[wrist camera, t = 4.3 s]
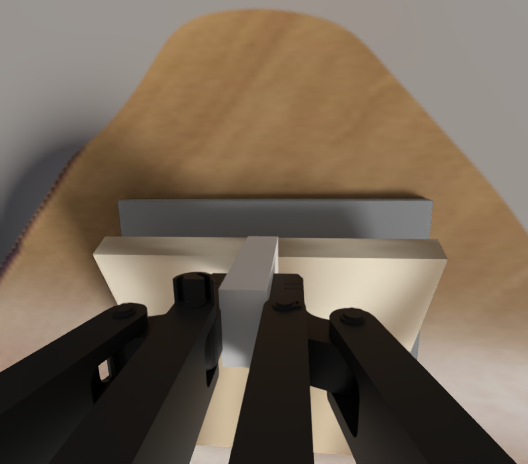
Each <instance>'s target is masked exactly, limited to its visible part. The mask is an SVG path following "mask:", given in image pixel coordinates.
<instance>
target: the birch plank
mask: <svg viewBox="0 0 528 464" xmlns="http://www.w3.org/2000/svg"><path fill="white" fill-rule="evenodd" d="M246 239H247V238H237V237H119V236H105V237H104V239H103V240H102V242H101V243H100V245H99V246H98V247H97V249H96V250H95V252H94V253H93V256H94V258H95V260H96V262H97V264H98V266H99V268H100V270H101V272H102V274H103V276H104V278H105V280H106V282H107V284H108V286H109V288H110V290H111V292H112V294H113V296H114V298H115V300H116V302H117V304H118V305H120V304H122V303H128V302H133V303H140V304H143V305H145V306H146V307H147V310H148V316H154V315H162V314H166V313H167V312H168V310H169V309H170V308H171V307H172V305H173V304H174V291H173V278H174V277H176V276H177V275H180V274H183V273H188V272H206V273H210V274H212V273H228V271H229V270H230V268H231V266H232V264H233V262H234V261H235V259H236V257H237V255H238V253H239V252H240V250H241V248H242V246H243V244H244V243H245V241H246ZM447 260H448V259H447V257H446V255H445V253H444V251H443V249H442V247H441V245H440V243H439V241H438V239H355V238H278V273H286V274H299V275H300V276H301V277H302V278H303V283H304V301H305V305H306V310H307V311H308V312H309V313H310V314H312V315H314V316H317V317H320V318H324V319H328V320H329V316H330V314H331V312H333V311H335V310H336V309H341V308H350V307H353V308H359V309H362V310H364V311H367V312H369V313H371V314H372V315H373V316H375V317H376V318H377V319H378V320H379V321H380V322H381V323H382V324H383V326H384V327H385V328H386V329H387V330H388V331H389V332H390V333H391V334H392V335H393V336H394V337H395V338H396V339H397V340H398V341H399V342H400V343H401V344H402V345H403V346H404V347H405V348H406V349H407V350H408V351H411V350H412V347H413V345H414V342H415V340H416V337H417V335H418V332H419V330H420V327H421V325H422V322H423V320H424V317H425V315H426V312H427V310H428V307H429V305H430V302H431V300H432V297H433V295H434V292H435V290H436V287H437V285H438V282H439V280H440V277H441V275H442V272H443V270H444V267H445V265H446V263H447Z"/></svg>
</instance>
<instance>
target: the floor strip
mask: <svg viewBox="0 0 528 464" xmlns="http://www.w3.org/2000/svg"><path fill="white" fill-rule="evenodd" d="M218 362H219V377H218V380H217V383H216V386H215V389H214V392H213V395H212V398H211V401H210V404H209V407H208V410H207V413H206V416H205V419H204V422H203V425H202V427H201V430H200V433H199V436H198V439H197V442H196V445H206V446H222V447H232V446H233V441H234V436H235V432H236V427H237V423H238V418H239V414H240V409H241V405H242V400H243V396H244V391H245V387H246V382H247V378H248V373H249V368H245V367H224V366H222V353H221V356H220V358H219V361H218ZM310 394H311V413H312V433H313V452H314V453H329V454H345V455H352V453H351V450H350V448H349V446H348V444H347V442H346V439H345V437H344V435H343V433H342V431H341V428H340V426H339V424H338V422H337V419H336V417H335V415H334V413H333V411H332V408H331V406H330V404H329V402H328V399H327V391H325V390H322V389H318V388H315V387H312V386H310Z"/></svg>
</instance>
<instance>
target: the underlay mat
mask: <svg viewBox="0 0 528 464" xmlns="http://www.w3.org/2000/svg"><path fill="white" fill-rule="evenodd" d="M432 206H433V200H430V199H123V200H120V201H118V209H119V218H120V227H121V236H122V237H237V238H247V237H248V236H278V238H355V239H429V236H430V226H431V216H432ZM419 335H420V330H419V332H418V335H417V337H416V340H415V342H414V345H413V347H412V350H411V351H409V352H410V354H411V355H412V356H413V357H414V358H415V359H416V360H417V354H418V345H419Z"/></svg>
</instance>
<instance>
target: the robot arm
mask: <svg viewBox="0 0 528 464" xmlns="http://www.w3.org/2000/svg"><path fill="white" fill-rule="evenodd" d="M173 291H174V304H173V305H172V307H171V308H170V309H169V310H168V312H167V313H166V314H162V315H154V316H148V310H147V307H146V306H145V305H143V304H140V303H133V302H128V303H122V304H120V305H117V306H114V307H112V308H109V309H107V310H106V311H104V312H102V313H100V314H99V315H97V316H95V317H94V318H92V319H90V320H88V321H87V322H85V323H83V324H82V325H80V326H78V327H77V328H75V329H73V330H71V331H70V332H68V333H66V334H65V335H63V336H61V337H60V338H58V339H56V340H54V341H53V342H51V343H49V344H48V345H46V346H44V347H43V348H41V349H39V350H37V351H36V352H34V353H32V354H31V355H29V356H27V357H25V358H24V359H22V360H20V361H19V362H17V363H15V364H14V365H12V366H10V367H8V368H7V369H5V370H3V371H2V372H0V464H189V463H190V460H191V457H192V454H193V451H194V448H195V445H196V442H197V439H198V436H199V433H200V430H201V427H202V425H203V422H204V419H205V416H206V413H207V410H208V407H209V404H210V401H211V398H212V395H213V392H214V389H215V386H216V383H217V380H218V377H219V362H218V361H219V358H220V356H221V353H222V366H224V367H245V368H249V373H248V378H247V382H246V387H245V391H244V396H243V400H242V405H241V409H240V414H239V418H238V423H237V427H236V432H235V436H234V441H233V446H232V450H231V455H230V459H229V464H314V452H313V433H312V413H311V394H310V386H312V387H315V388H318V389H322V390H325V391H327V399H328V402H329V404H330V406H331V408H332V411H333V413H334V415H335V417H336V419H337V422H338V424H339V426H340V428H341V431H342V433H343V435H344V437H345V439H346V442H347V444H348V446H349V448H350V450H351V453H352V455H353V457H354V459H355V461H356V464H517V463H516V462H515V461H514V460H513V459H512V458H511V457H510V456H509V455H508V454H507V453H506V452H505V451H504V450H503V449H502V448H501V447H500V446H499V445H498V444H497V443H496V442H495V441H494V440H493V439H492V438H491V436H490V435H489V434H488V433H487V432H486V431H485V430H484V429H483V428H482V427H481V426H480V425H479V424H478V423H477V422H476V421H475V420H474V419H473V418H472V417H471V416H470V415H469V414H468V413H467V412H466V411H465V410H464V408H463V407H462V406H461V405H460V404H459V403H458V402H457V401H456V400H455V399H454V398H453V397H452V396H451V395H450V394H449V393H448V392H447V391H446V390H445V389H444V388H443V387H442V386H441V385H440V384H439V383H438V382H437V380H436V379H435V378H434V377H433V376H432V375H431V374H430V373H429V372H428V371H427V370H426V369H425V368H424V367H423V366H422V365H421V364H420V363H419V362H418V361H417V360H416V359H415V358H414V357H413V356H412V355H411V354H410V352H409V351H408V350H407V349H406V348H405V347H404V346H403V345H402V344H401V343H400V342H399V341H398V340H397V339H396V338H395V337H394V336H393V335H392V334H391V333H390V332H389V331H388V330H387V329H386V328H385V327H384V326H383V324H382V323H381V322H380V321H379V320H378V319H377V318H376V317H375V316H373V315H372V314H371V313H369V312H367V311H364V310H362V309H359V308H353V307H350V308H341V309H336V310H335V311H333V312H331V314H330V316H329V320H328V319H324V318H320V317H317V316H314V315H312V314H310V313H309V312H308V311H307V310H306V305H305V301H304V283H303V278H302V277H301V276H300V275H299V274H286V273H278V236H248V237H247V239H246V241H245V243H244V244H243V246H242V248H241V250H240V252H239V253H238V255H237V257H236V259H235V261H234V262H233V264H232V266H231V268H230V270H229V271H228V273H212V274H210V273H206V272H188V273H183V274H180V275H177V276H176V277H174V278H173ZM106 359H107V365H108V372H109V376H108V377H106V378H105V379H103V380H102V381H101V379H100V375H99V368H98V366H99V365H100V364H101V363H103V362H104V361H105V360H106Z"/></svg>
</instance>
